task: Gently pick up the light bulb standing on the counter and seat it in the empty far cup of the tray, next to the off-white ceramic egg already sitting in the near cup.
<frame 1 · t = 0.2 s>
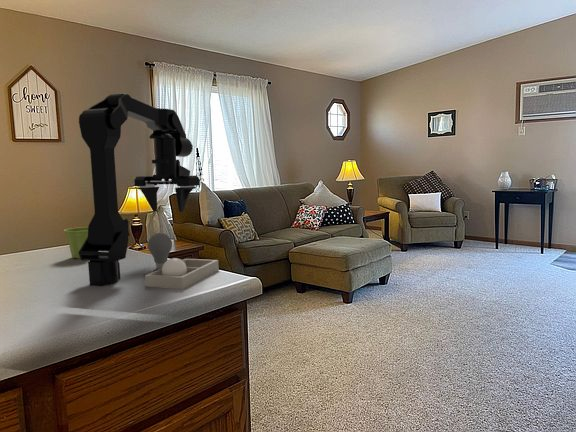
hand: (168, 211, 124), 14 cm above the table, fingers open, 9 cm apart
plant pot: (83, 257, 134), on the table
ceramic egg: (175, 281, 98), point 1 cm above the table, touching tray
light bulb: (161, 272, 113), on the table
tray: (184, 281, 102), on the table
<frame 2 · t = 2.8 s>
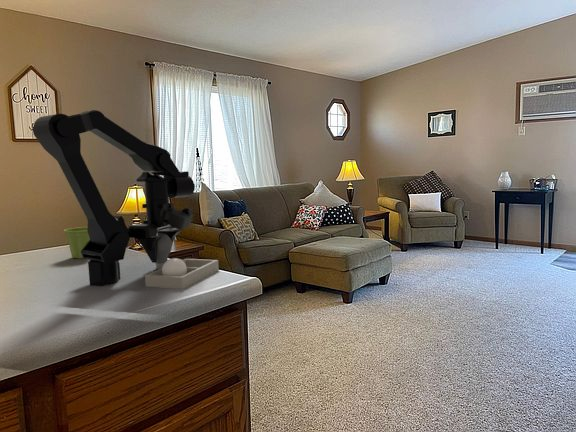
hand: (160, 260, 112), 3 cm above the table, fingers closed on light bulb, 5 cm apart
light bulb: (161, 272, 113), on the table, touching gripper
everything else where it was.
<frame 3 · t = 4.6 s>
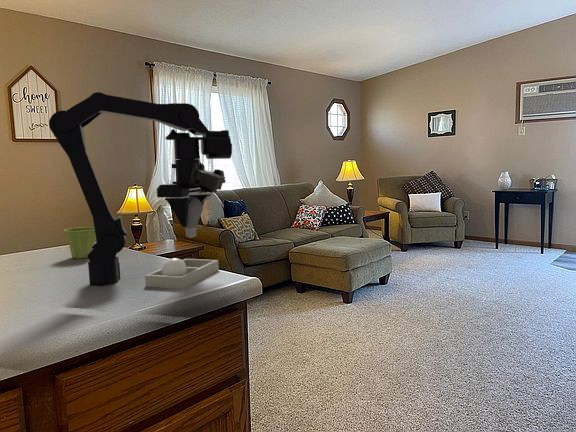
hand: (190, 225, 105), 13 cm above the table, fingers closed on light bulb, 5 cm apart
light bulb: (191, 238, 105), point 10 cm above the table, touching gripper
everything else where it was.
when the fingers open (5 cm above the table, at t = 6.8 s): light bulb drops 1 cm, resting on tray.
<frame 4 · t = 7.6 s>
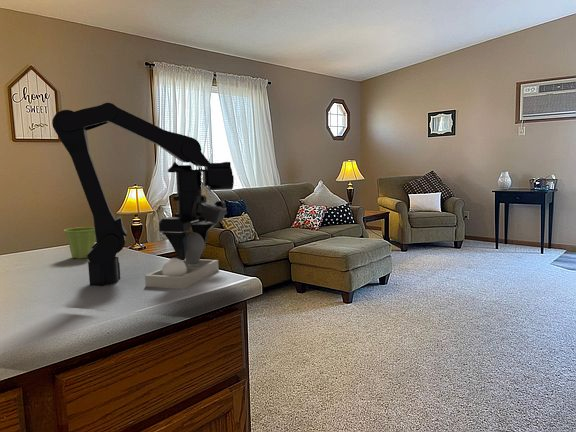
hand: (192, 256, 106), 5 cm above the table, fingers open, 9 cm apart
light bulb: (193, 273, 106), point 1 cm above the table, touching tray
everything else where it was.
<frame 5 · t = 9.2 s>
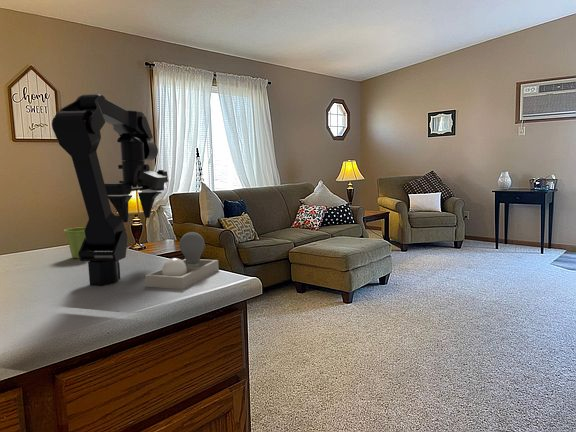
hand: (136, 219, 116), 13 cm above the table, fingers open, 9 cm apart
nothing on the table moved.
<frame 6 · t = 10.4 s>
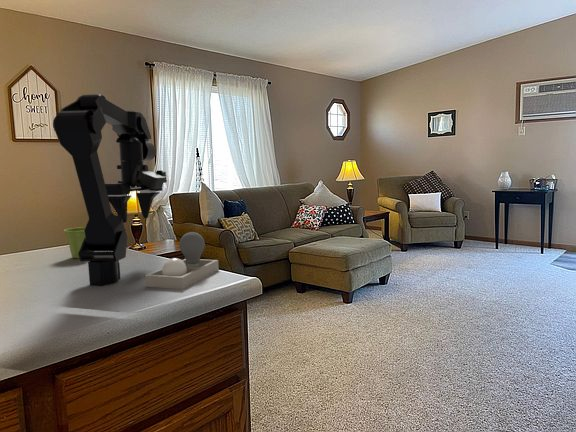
hand: (135, 220, 117), 13 cm above the table, fingers open, 9 cm apart
nothing on the table moved.
at the end: light bulb 0.1 cm from the target spot on the tray, point 0.8 cm above the tray's base; light bulb touching tray; the gripper is holding nothing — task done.
